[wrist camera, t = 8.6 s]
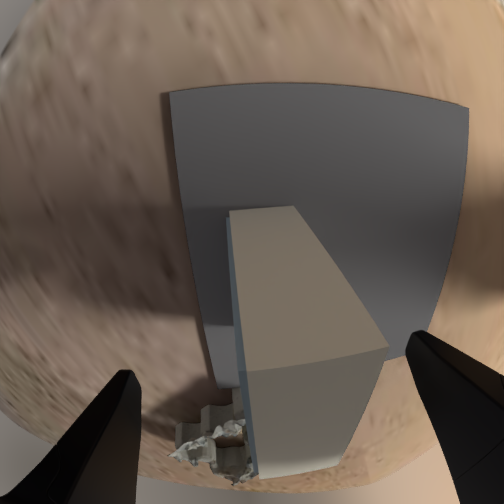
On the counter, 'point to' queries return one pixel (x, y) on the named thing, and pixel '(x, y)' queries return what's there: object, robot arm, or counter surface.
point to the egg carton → (204, 448)
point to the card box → (297, 343)
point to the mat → (324, 192)
